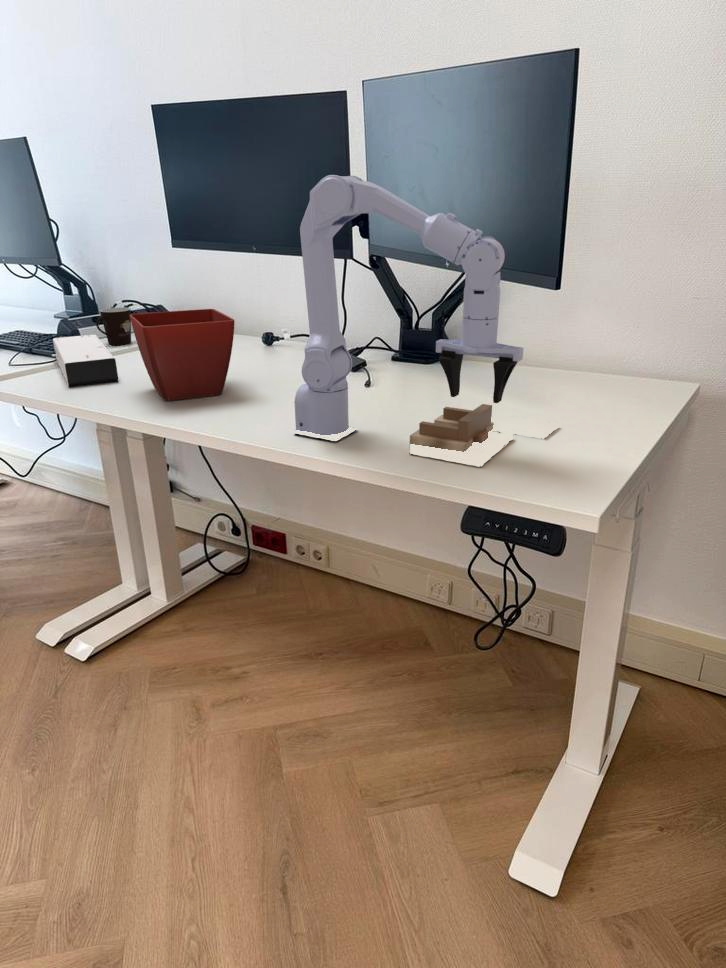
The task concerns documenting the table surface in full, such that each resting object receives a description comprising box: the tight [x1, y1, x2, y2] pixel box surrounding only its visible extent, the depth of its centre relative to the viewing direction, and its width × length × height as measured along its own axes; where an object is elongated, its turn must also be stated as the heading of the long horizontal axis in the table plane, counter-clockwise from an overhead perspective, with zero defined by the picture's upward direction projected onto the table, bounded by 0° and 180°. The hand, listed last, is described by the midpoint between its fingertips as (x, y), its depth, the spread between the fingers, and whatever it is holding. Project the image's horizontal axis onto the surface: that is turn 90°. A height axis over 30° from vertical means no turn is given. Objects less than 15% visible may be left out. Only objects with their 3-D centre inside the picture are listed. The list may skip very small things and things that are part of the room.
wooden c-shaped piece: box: [418, 403, 493, 442], centre depth 122 cm, size 9×11×4 cm
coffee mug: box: [95, 307, 132, 347], centre depth 208 cm, size 12×9×10 cm
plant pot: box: [130, 308, 235, 402], centre depth 156 cm, size 19×19×17 cm
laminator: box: [51, 333, 119, 388], centre depth 179 cm, size 34×12×6 cm, turn 27°
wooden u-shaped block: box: [409, 414, 494, 452], centre depth 123 cm, size 14×16×3 cm
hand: (475, 398), depth 119 cm, fingers open, 7 cm apart
